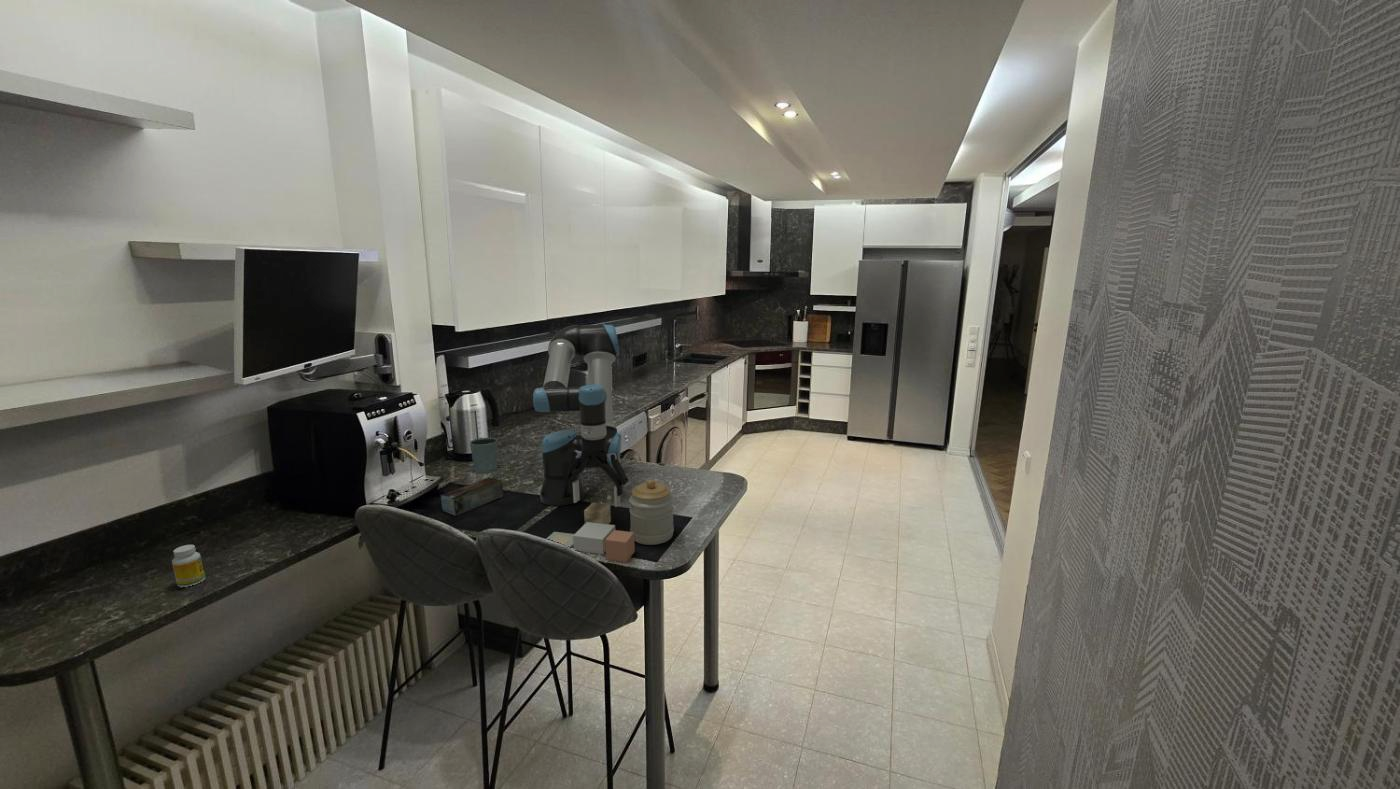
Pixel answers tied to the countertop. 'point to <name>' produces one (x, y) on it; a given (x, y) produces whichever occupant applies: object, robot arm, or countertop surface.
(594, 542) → the grey base block
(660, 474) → the countertop surface
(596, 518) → the maple block
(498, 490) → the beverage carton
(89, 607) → the countertop surface
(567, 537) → the card
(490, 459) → the teal cup
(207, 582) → the countertop surface
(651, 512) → the jar
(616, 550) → the terracotta block
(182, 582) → the supplement bottle
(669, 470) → the countertop surface
